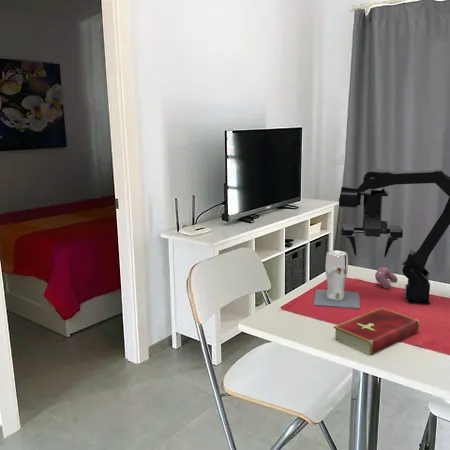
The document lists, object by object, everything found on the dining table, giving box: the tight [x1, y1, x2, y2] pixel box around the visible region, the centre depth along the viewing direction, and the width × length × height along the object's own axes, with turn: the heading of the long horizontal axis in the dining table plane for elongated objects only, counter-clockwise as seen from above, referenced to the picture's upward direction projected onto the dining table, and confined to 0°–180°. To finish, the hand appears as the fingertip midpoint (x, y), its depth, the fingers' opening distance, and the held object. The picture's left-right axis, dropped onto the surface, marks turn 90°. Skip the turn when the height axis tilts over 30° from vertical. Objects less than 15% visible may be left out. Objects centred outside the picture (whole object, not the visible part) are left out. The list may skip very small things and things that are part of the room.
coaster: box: [313, 289, 361, 310], centre depth 157 cm, size 14×14×1 cm
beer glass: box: [325, 250, 349, 301], centre depth 156 cm, size 7×7×15 cm
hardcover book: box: [333, 307, 420, 356], centre depth 130 cm, size 12×21×4 cm, turn 127°
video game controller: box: [374, 266, 399, 290], centre depth 170 cm, size 10×5×7 cm, turn 147°
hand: (369, 256), depth 158 cm, fingers open, 9 cm apart
